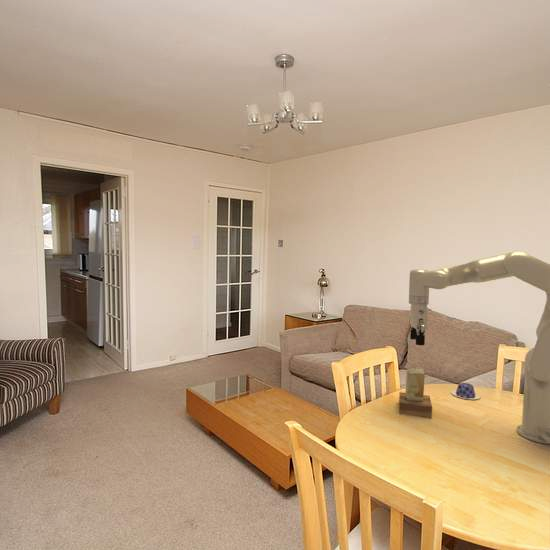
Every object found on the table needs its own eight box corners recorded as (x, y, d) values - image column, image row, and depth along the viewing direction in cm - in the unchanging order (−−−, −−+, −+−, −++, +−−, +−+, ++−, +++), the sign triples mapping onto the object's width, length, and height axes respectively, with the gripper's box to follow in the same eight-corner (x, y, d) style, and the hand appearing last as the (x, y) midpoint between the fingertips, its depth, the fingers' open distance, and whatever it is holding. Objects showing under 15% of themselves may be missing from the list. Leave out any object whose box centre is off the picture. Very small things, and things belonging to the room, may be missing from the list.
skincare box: (407, 400, 152) (408, 373, 149) (405, 395, 156) (405, 368, 153) (424, 401, 151) (425, 373, 148) (421, 395, 155) (422, 368, 153)
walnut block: (431, 419, 146) (432, 406, 146) (399, 414, 150) (399, 402, 150) (429, 407, 158) (429, 395, 157) (399, 403, 161) (399, 392, 161)
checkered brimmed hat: (446, 395, 171) (446, 384, 171) (457, 389, 179) (457, 378, 179) (474, 403, 162) (474, 391, 162) (484, 396, 170) (485, 385, 170)
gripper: (434, 303, 142) (432, 347, 143) (422, 297, 159) (421, 337, 160) (413, 302, 143) (412, 347, 144) (404, 297, 160) (403, 336, 161)
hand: (417, 342), depth 152 cm, fingers open, 9 cm apart
